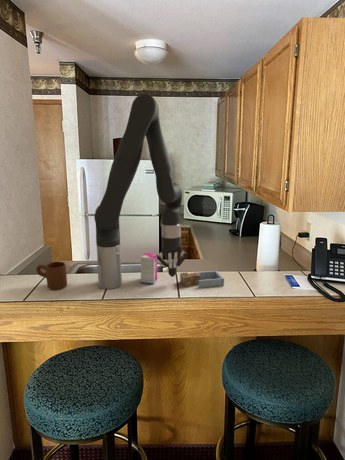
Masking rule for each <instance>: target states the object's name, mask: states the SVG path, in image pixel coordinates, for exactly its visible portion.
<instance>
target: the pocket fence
mask: <svg viewBox="0 0 345 460" xmlns="http://www.w3.org/2000/svg"><path fill="white" fill-rule="evenodd" d="M193 273H199V274H200V275H201V280H199V285H198V288H199V289H201V288H203V289H204V288H212V287H222V286H225V277H223V276H222V275H221V273H220V272H219V271H218V270H209V271H208V270H207V271H195V272H193Z"/></svg>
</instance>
